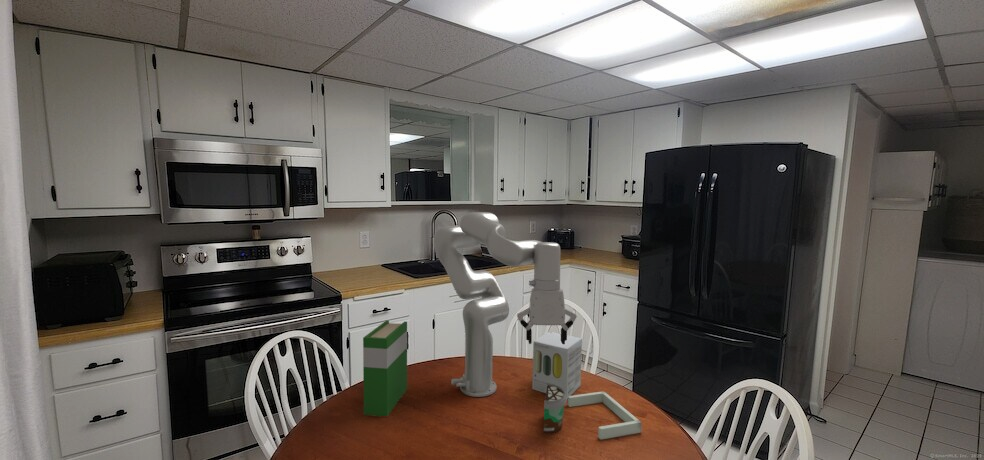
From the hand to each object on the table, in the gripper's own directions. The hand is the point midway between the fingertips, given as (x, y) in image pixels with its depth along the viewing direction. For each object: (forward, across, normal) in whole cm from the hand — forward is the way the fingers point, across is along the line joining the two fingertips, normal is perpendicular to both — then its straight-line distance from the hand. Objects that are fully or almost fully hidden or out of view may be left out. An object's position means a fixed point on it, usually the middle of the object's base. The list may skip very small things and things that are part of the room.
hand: (546, 342), depth 116 cm
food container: (+24, +3, -1) cm, 25 cm away
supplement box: (+24, +7, +23) cm, 34 cm away
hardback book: (+24, -50, +10) cm, 56 cm away
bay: (+24, +17, +3) cm, 30 cm away
